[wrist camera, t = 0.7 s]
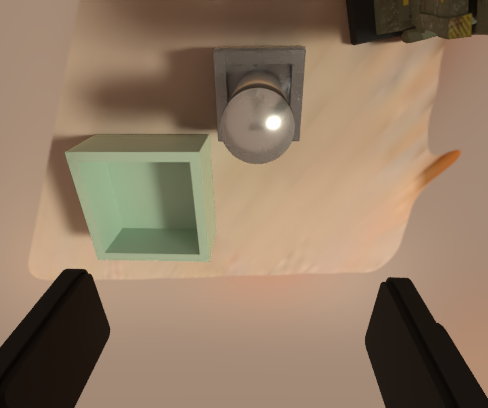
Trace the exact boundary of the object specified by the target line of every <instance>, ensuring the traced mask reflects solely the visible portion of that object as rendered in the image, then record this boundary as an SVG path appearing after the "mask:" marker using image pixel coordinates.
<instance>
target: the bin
mask: <svg viewBox="0 0 488 408" xmlns="http://www.w3.org/2000/svg"><path fill="white" fill-rule="evenodd" d="M64 153H65V156H66V159H67V162H68V165H69V169H70V172H71V175H72V178H73V181H74V184H75V188H76V191H77V194H78V197H79V200H80V204H81V207H82V210H83V213H84V216H85V220H86V223H87V226H88V229H89V232H90V235H91V239H92V242H93V245H94V248H95V251H96V255H97V258H98V260H138V261H193V262H210V257H211V253H212V249H213V244H214V240H215V236H216V221H215V208H214V194H213V181H212V167H211V154H210V140H209V134H118V135H93V136H91V137H90V138H88V139H86V140H84V141H83V142H81V143H79V144H78V145H76V146H74V147H72V148H71V149H69V150H67V151H65V152H64Z"/></svg>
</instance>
